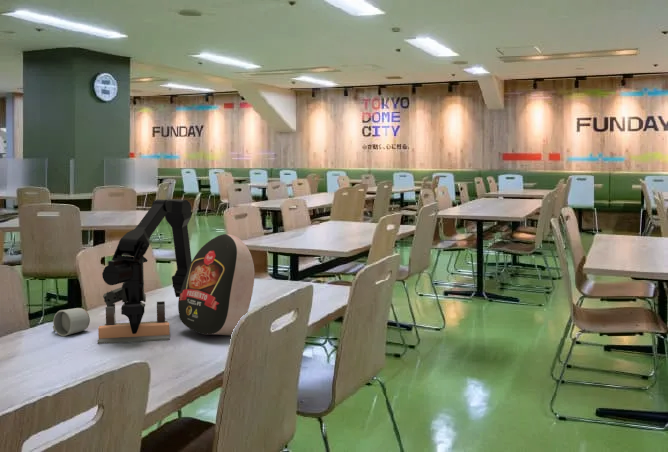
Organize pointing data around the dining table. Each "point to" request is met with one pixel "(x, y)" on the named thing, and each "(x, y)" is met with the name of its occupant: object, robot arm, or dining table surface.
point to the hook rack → (160, 319)
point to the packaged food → (217, 286)
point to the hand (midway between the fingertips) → (134, 331)
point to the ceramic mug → (70, 321)
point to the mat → (133, 339)
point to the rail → (126, 331)
